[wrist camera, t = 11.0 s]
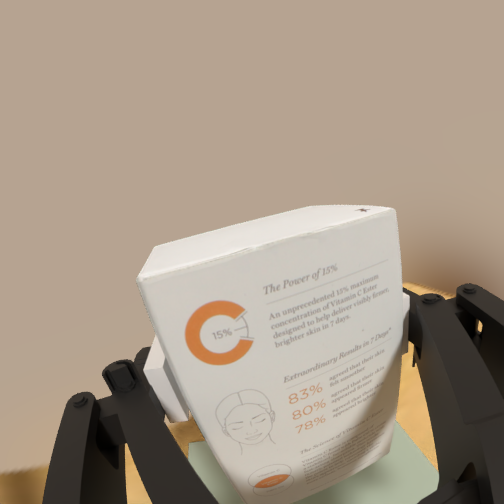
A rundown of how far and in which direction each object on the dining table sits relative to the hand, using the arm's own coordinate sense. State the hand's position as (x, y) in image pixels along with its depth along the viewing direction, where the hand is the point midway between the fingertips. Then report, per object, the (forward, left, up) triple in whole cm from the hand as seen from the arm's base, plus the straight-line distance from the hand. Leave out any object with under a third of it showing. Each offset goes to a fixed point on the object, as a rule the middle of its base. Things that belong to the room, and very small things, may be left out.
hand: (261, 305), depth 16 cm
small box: (0, -5, -8) cm, 9 cm away
